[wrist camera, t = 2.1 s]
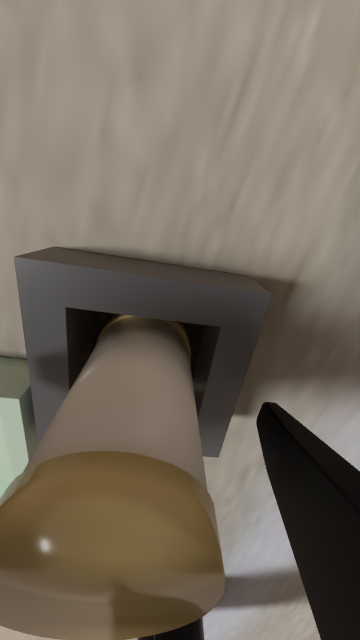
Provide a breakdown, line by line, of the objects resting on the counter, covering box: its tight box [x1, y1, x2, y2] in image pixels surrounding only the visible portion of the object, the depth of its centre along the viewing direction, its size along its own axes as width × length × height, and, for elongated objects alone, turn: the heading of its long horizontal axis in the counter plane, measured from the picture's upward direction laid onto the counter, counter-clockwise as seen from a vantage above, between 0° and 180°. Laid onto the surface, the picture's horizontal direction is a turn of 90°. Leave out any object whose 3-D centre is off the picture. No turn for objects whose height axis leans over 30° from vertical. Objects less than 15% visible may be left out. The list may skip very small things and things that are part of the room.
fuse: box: [0, 314, 226, 640], centre depth 7 cm, size 4×4×8 cm
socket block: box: [14, 247, 272, 457], centre depth 10 cm, size 8×8×2 cm
